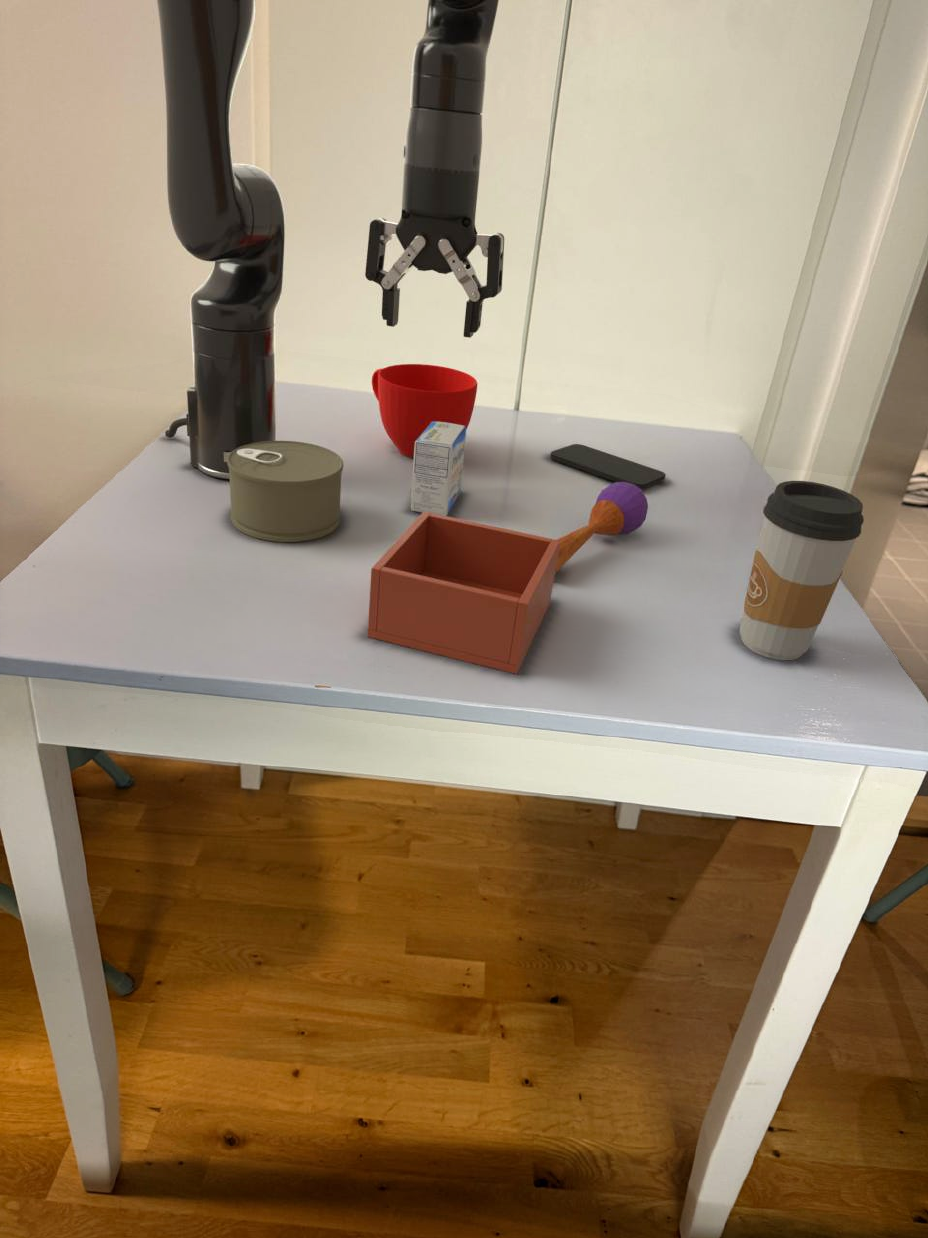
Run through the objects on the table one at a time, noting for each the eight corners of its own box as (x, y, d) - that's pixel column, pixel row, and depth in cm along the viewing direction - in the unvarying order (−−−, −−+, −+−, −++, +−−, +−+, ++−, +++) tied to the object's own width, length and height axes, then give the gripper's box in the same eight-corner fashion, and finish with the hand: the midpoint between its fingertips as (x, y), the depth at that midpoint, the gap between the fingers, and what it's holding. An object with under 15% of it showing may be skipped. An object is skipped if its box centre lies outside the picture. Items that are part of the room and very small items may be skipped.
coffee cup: (715, 619, 88) (755, 475, 80) (795, 623, 89) (842, 481, 81) (745, 666, 81) (792, 513, 73) (832, 669, 82) (887, 519, 74)
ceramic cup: (405, 421, 131) (410, 352, 126) (489, 456, 122) (498, 383, 117) (335, 435, 123) (338, 362, 118) (420, 475, 113) (426, 397, 108)
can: (312, 552, 92) (313, 489, 88) (207, 528, 94) (204, 466, 91) (358, 511, 102) (360, 453, 98) (262, 490, 104) (261, 433, 101)
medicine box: (446, 518, 102) (453, 445, 98) (409, 511, 103) (414, 439, 99) (460, 493, 109) (467, 425, 105) (425, 487, 110) (431, 419, 105)
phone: (577, 442, 128) (669, 473, 120) (576, 448, 129) (668, 479, 121) (547, 452, 123) (641, 485, 115) (546, 458, 123) (640, 491, 116)
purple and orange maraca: (515, 532, 91) (610, 472, 105) (519, 585, 94) (611, 520, 108) (565, 541, 88) (657, 478, 102) (568, 595, 91) (656, 527, 104)
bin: (367, 637, 78) (371, 567, 75) (418, 573, 90) (423, 510, 87) (516, 674, 76) (527, 604, 72) (549, 603, 87) (560, 540, 84)
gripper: (519, 169, 91) (500, 333, 99) (384, 153, 93) (377, 315, 101) (505, 172, 84) (487, 347, 92) (361, 155, 86) (355, 327, 94)
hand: (429, 330), depth 97 cm, fingers open, 8 cm apart
